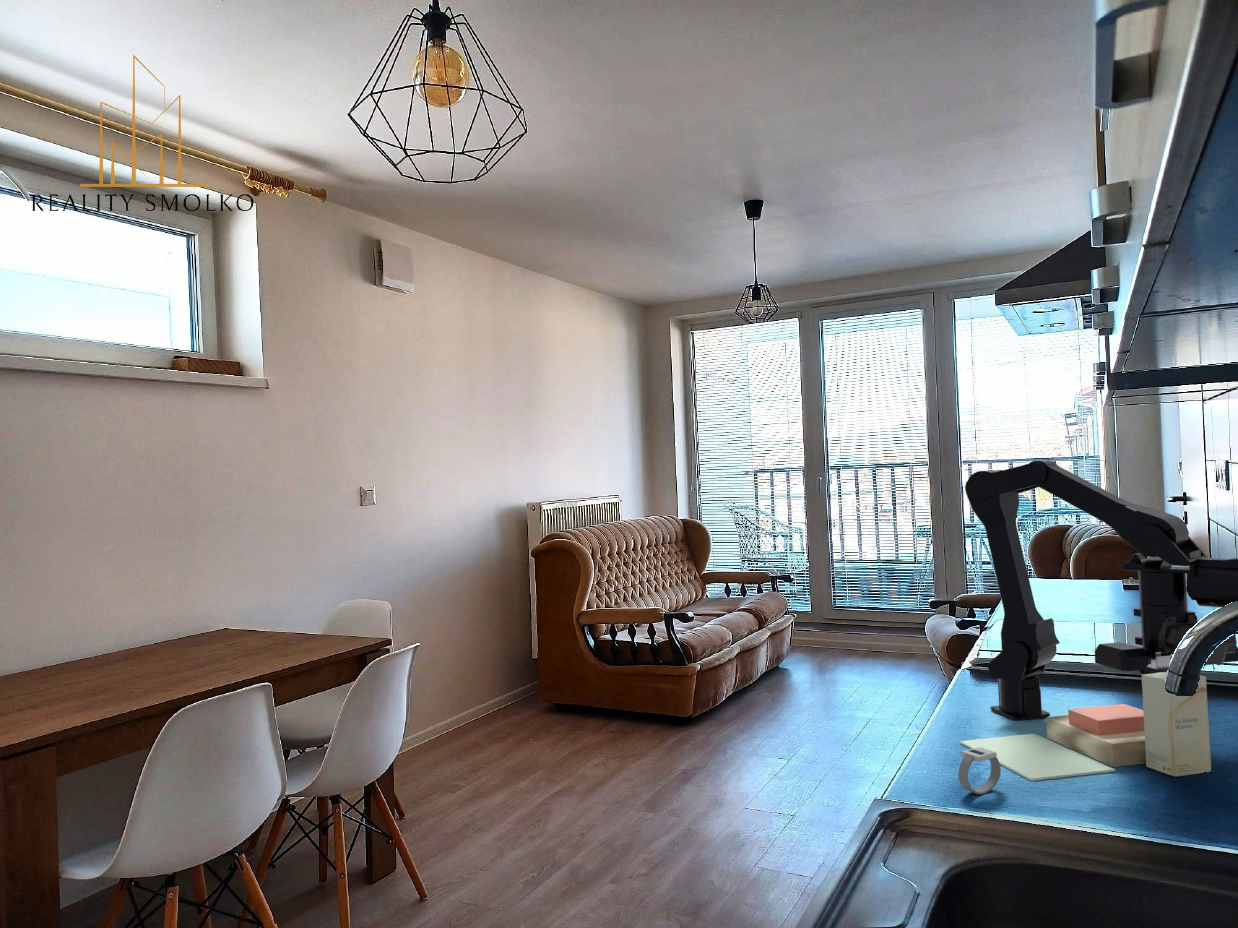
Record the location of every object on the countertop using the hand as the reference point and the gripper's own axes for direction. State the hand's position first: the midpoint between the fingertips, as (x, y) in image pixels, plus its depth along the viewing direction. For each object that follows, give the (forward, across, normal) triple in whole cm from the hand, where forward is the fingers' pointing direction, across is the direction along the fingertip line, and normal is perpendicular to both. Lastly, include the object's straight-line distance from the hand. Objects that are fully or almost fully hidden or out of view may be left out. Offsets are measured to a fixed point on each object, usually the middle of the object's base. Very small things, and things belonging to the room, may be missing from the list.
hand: (1169, 713), depth 120 cm
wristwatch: (+4, -36, -10) cm, 37 cm away
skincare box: (+4, -8, -10) cm, 13 cm away
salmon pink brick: (0, -9, 0) cm, 9 cm away
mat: (+4, -22, 0) cm, 22 cm away
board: (+4, -9, 0) cm, 10 cm away
